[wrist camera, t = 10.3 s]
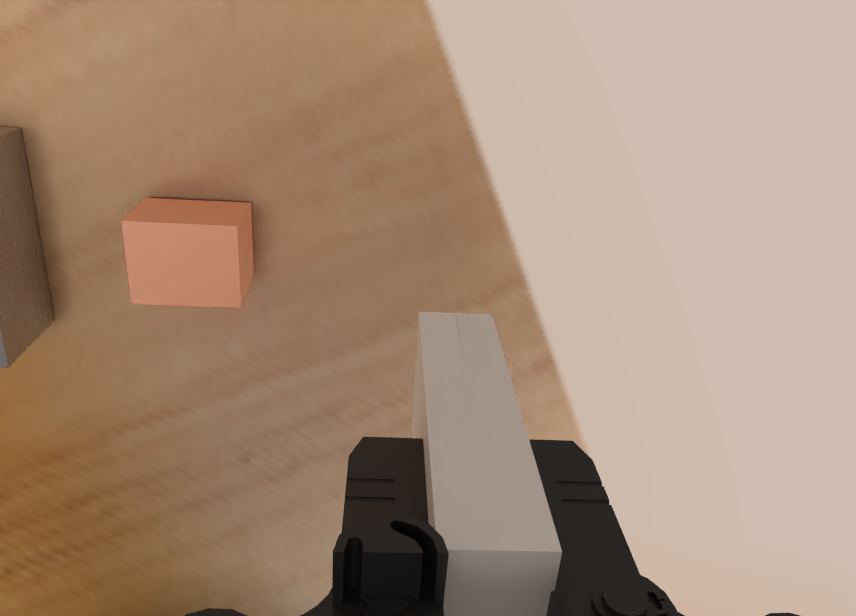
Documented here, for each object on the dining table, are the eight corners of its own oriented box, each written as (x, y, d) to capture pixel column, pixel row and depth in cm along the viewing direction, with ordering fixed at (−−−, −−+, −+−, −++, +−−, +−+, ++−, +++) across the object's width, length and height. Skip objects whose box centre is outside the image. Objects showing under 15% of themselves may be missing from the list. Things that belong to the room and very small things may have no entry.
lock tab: (154, 274, 21) (130, 304, 19) (146, 197, 20) (121, 221, 18) (253, 278, 22) (241, 308, 20) (251, 202, 21) (237, 226, 19)
